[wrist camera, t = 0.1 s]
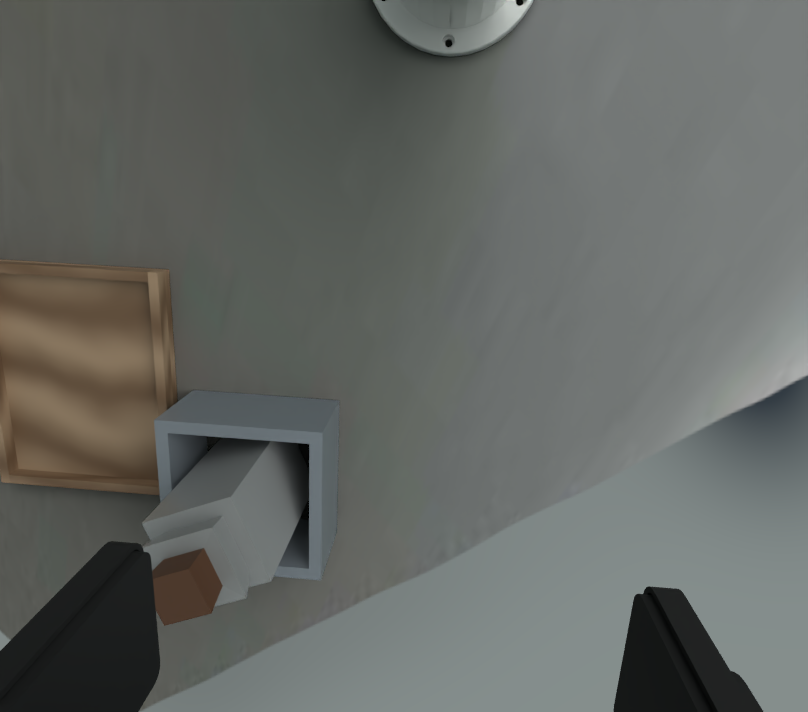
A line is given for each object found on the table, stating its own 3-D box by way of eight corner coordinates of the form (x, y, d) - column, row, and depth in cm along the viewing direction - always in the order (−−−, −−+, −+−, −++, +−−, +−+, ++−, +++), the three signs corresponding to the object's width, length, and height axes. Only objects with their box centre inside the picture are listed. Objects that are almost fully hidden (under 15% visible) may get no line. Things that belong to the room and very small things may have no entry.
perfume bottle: (315, 484, 51) (249, 630, 34) (248, 504, 53) (152, 654, 35) (286, 418, 50) (202, 536, 33) (218, 440, 51) (102, 565, 34)
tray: (-15, 258, 48) (-35, 261, 46) (169, 269, 47) (157, 272, 45) (17, 471, 53) (1, 482, 51) (183, 485, 52) (173, 496, 51)
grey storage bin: (193, 389, 50) (153, 420, 43) (339, 400, 49) (322, 432, 42) (200, 519, 53) (165, 566, 47) (336, 531, 53) (321, 580, 46)
